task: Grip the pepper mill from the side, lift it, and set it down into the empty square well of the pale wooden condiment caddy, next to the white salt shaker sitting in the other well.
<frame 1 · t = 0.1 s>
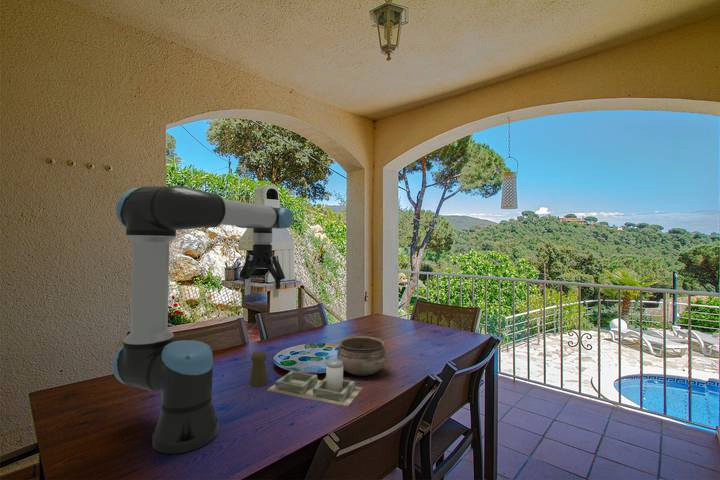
hand: (261, 296, 138), 28 cm above the table, tool pointing down, fingers open, 13 cm apart
condiment caddy: (315, 392, 114), on the table
cooking pot: (361, 374, 131), on the table
salt shaker: (334, 392, 112), point 1 cm above the table, touching condiment caddy
pepper mill: (258, 383, 121), on the table
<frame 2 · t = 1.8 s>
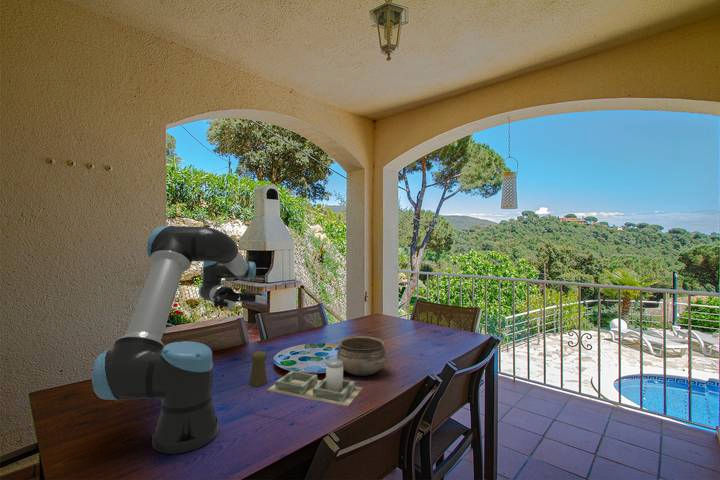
hand: (250, 303, 130), 26 cm above the table, tool horizontal, fingers open, 13 cm apart
nothing on the table moved.
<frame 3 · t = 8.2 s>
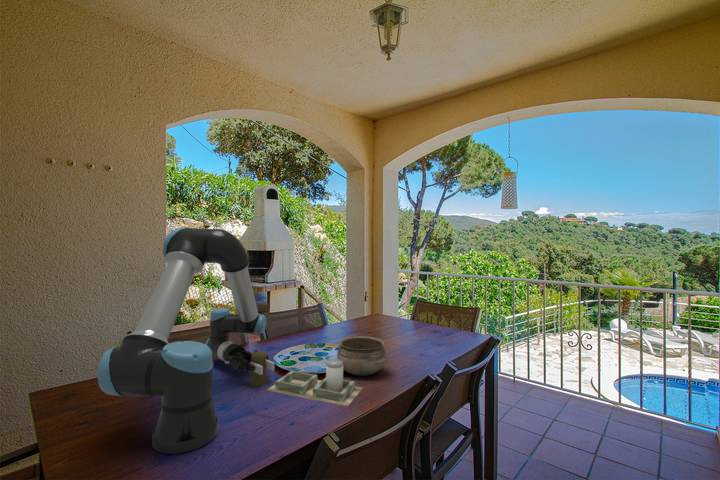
hand: (267, 368, 117), 7 cm above the table, tool horizontal, fingers closed on pepper mill, 4 cm apart
pepper mill: (258, 383, 121), on the table, touching gripper
everything else where it was.
when the fingers open (9 cm above the table, at t = 14.0 s): pepper mill drops 1 cm, resting on condiment caddy.
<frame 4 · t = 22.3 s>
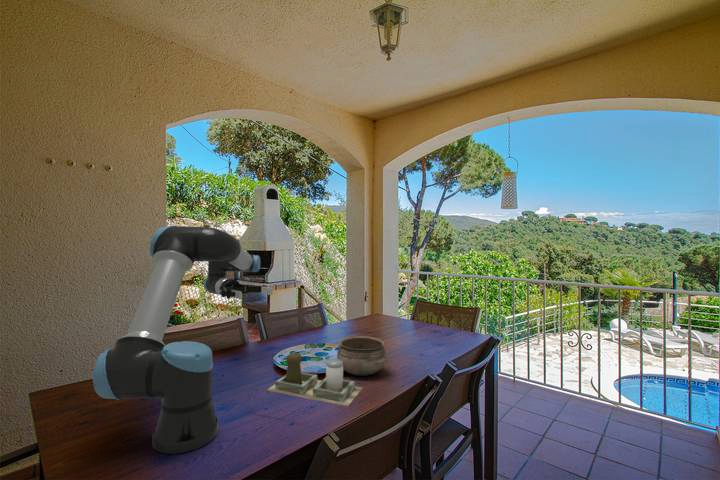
hand: (256, 293, 132), 30 cm above the table, tool horizontal, fingers open, 13 cm apart
pepper mill: (293, 386, 116), point 1 cm above the table, touching condiment caddy
everything else where it was.
at the end: pepper mill 1.2 cm from the target spot on the condiment caddy, point 1.0 cm above the condiment caddy's base; pepper mill tilted 0°; the gripper is holding nothing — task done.
